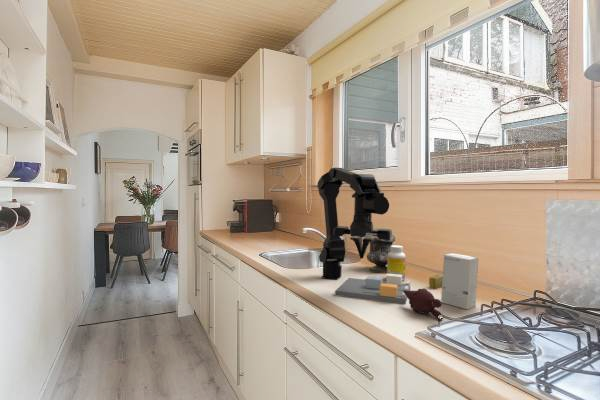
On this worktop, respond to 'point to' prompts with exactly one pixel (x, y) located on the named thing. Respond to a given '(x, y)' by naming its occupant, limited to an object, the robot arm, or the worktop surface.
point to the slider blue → (373, 282)
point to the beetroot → (423, 302)
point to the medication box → (436, 281)
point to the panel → (370, 291)
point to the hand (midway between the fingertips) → (361, 258)
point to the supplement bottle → (396, 261)
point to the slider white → (394, 279)
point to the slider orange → (388, 290)
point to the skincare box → (459, 280)
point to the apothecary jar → (379, 253)
